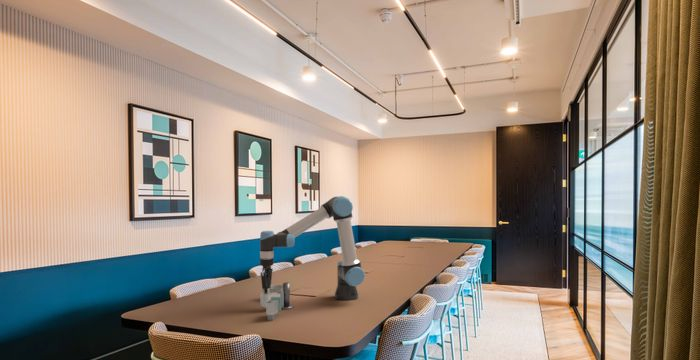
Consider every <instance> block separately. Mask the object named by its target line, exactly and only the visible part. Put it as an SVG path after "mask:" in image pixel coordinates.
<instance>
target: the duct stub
mask: <svg viewBox="0 0 700 360" xmlns="http://www.w3.org/2000/svg"><path fill="white" fill-rule="evenodd" d="M265 308H266V309H265V310H266V313H265V315H266V316H267V321H272V322H273V321H275V320H276V314H277V313H278V312H281V311H282V309H281V297H271V300H270V301H268V302H267V303H266V307H265Z"/></svg>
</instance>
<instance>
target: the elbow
mask: <svg viewBox="0 0 700 360" xmlns="http://www.w3.org/2000/svg"><path fill="white" fill-rule="evenodd" d="M259 294H260V298H259V299H260V300H259V306H261V307H262V308H266V303H267V302H268V301H270V300H271V297H281V308H283V307H284V291H282V290H277V292H275V293H265V292H263V291H262V292H260V293H259Z"/></svg>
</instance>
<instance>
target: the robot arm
mask: <svg viewBox="0 0 700 360" xmlns="http://www.w3.org/2000/svg"><path fill="white" fill-rule="evenodd" d="M353 209H354V205H353V201H351V199H350V198H348V197H346V196H342V195H340V196H334V197H331V198H330V199H329V200H328V201H325V202H324V203H323V204H321V205H320V207H319V208H318V209H316V210H314V211H313V212H311V213H310V214H308V215H306V216H305V217H303V218H301V219H299V220H298V221H296V222H294V223H293V224H292V225H290V226H288V227H286V228H285V229H283V230H281V231H279V232H277V233H276V234H275V233H274V230H273V231H272V230H263V231H261V232H260V238H259V239H260V240H259V243H260V244H259V245H260V246H259V265H260V267H261V266H262V270H261V272H260V277H261V278H260V279H261V287H262V289H264V292H265V293H269V288H271V287H270V286H271V285H272V276H273V268H272V266H273V265H274V261H275V260H274V256H275V254H274V251H275V250H274V248H293V247H294V246H295V242H296V240H295V239H296V237H299V236H300V235H301V234H303V233H304V232H307V231H308V230H309V229H311V228H313V227H314V226H317V225H318V224H319V223H321V222H323V221H324V220H327V219H331V218H332V219H333V221H334V222H335V223H336V226H337V227H336V228H337V232H338V239H339V244H340V248H341V249H340V250H341V255H342V261H341V260H339V261H338V262H337V266H336V267H337V268H336V269H337V272H336V274H337V276H336V277H337V279H336V280H337V285H336V289H335V291H334V299H337V300H341V301H352V300H356V299H359V292H358V289H357V287H358V286H360V285H361V284H362V283H364V281H365V278H366V273H365V271H364V269H363V268H362V264H361V260H359V259H358V255H357V250H356V249H357V248H356V244H355V237H354V233H353V227H352V222H351V220H352V218H353V213H352V211H353ZM262 289H261V290H262Z"/></svg>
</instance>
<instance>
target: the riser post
mask: <svg viewBox="0 0 700 360" xmlns="http://www.w3.org/2000/svg"><path fill="white" fill-rule="evenodd" d="M290 284H291V283H290V282H288V281H287V282H286V281H285V282H282V285H283V291H284V307H283V308H281V310H291V309H293V308H294V305H293V304H290V303H291V301H290V300H291V299H290V298H291V297H290V295H291V285H290Z"/></svg>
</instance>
